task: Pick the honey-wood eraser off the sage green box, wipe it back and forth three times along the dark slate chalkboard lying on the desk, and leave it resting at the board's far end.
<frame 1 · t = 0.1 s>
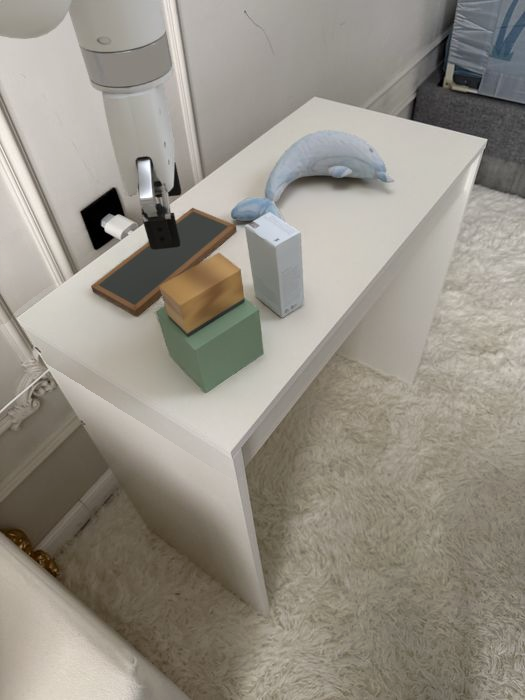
hand: (167, 219, 59), 15 cm above the table, tool pointing down, fingers open, 9 cm apart
cosmetic box: (278, 301, 72), on the table
chalkboard: (168, 260, 79), on the table
sculpture: (316, 203, 86), on the table
sage green box: (216, 354, 66), on the table
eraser: (207, 310, 60), point 8 cm above the table, touching sage green box
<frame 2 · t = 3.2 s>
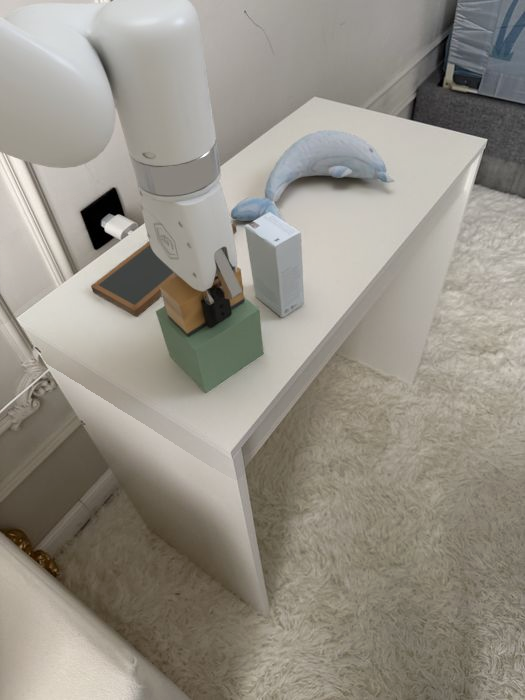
hand: (206, 308, 60), 8 cm above the table, tool pointing down, fingers closed on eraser, 4 cm apart
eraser: (207, 310, 60), point 8 cm above the table, touching sage green box, gripper
everything else where it was.
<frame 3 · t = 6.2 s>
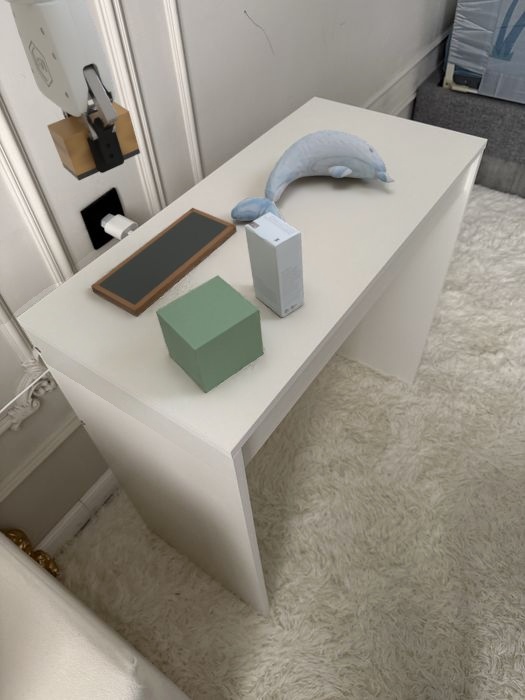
hand: (101, 158, 60), 20 cm above the table, tool pointing down, fingers closed on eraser, 4 cm apart
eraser: (102, 160, 61), point 19 cm above the table, touching gripper
everything else where it was.
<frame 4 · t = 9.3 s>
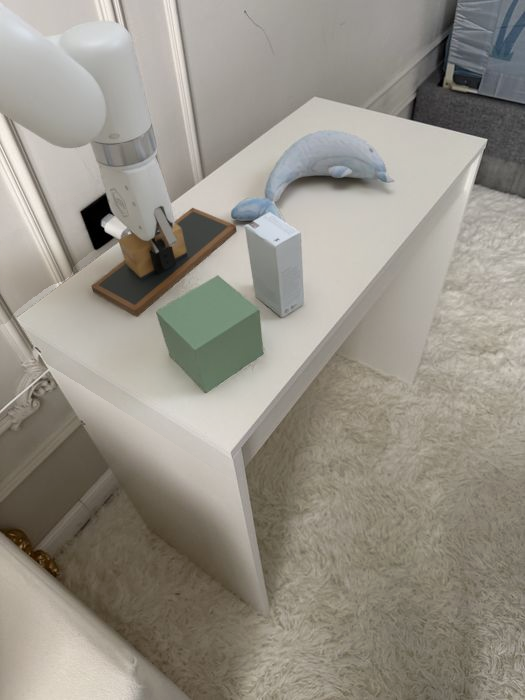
hand: (157, 259, 76), 2 cm above the table, tool pointing down, fingers closed on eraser, 4 cm apart
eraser: (157, 261, 77), point 1 cm above the table, touching gripper
everything else where it was.
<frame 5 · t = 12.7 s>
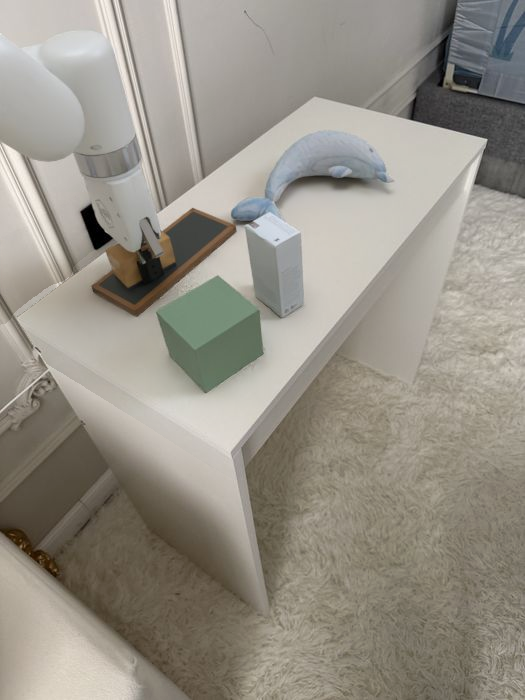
hand: (144, 270, 75), 1 cm above the table, tool pointing down, fingers closed on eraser, 4 cm apart
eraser: (145, 271, 75), point 1 cm above the table, touching gripper
everything else where it was.
when the fingers open (1 cm above the table, at t = 15.4 s): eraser stays where it is, resting on chalkboard.
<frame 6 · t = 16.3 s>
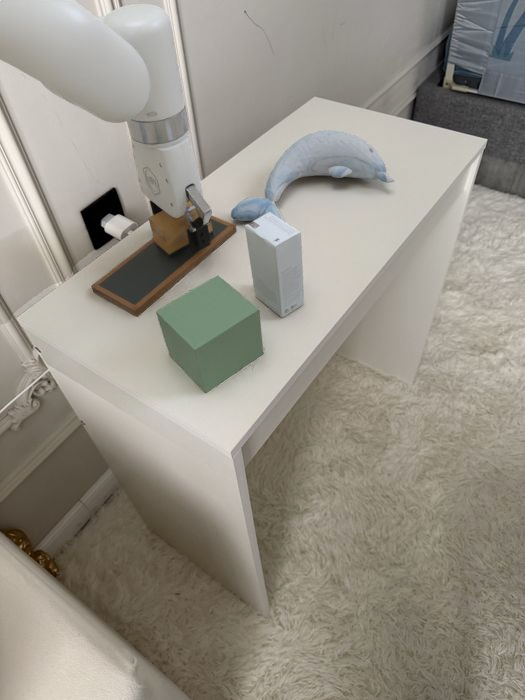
hand: (182, 233, 79), 2 cm above the table, tool pointing down, fingers open, 9 cm apart
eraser: (184, 239, 80), point 1 cm above the table, touching chalkboard
everything else where it was.
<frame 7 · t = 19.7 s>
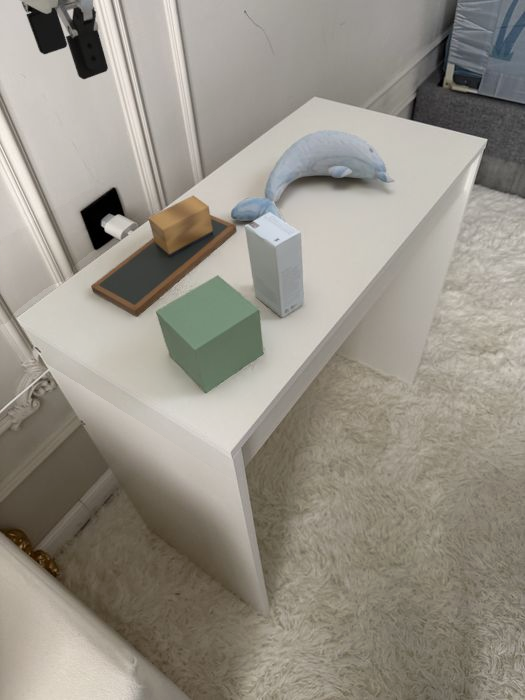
hand: (73, 61, 57), 28 cm above the table, tool pointing down, fingers open, 9 cm apart
nothing on the table moved.
at the end: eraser inside the target area on the chalkboard (0.5 cm from its centre), point 1.2 cm above the chalkboard's base; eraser moved 23.8 cm from its start; the gripper is holding nothing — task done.
